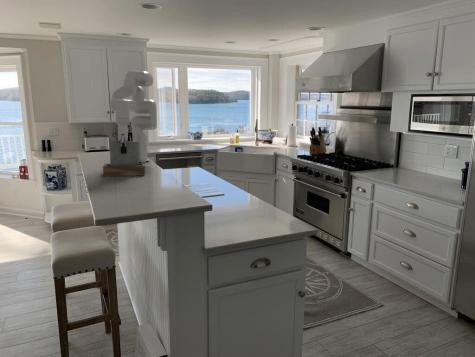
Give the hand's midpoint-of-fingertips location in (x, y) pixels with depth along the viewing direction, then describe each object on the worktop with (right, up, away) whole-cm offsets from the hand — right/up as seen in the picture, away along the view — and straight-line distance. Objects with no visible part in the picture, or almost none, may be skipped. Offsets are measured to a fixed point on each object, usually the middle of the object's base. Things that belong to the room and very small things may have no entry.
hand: (124, 152), depth 217 cm
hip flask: (0, -11, +2) cm, 11 cm away
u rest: (0, -13, +3) cm, 13 cm away
